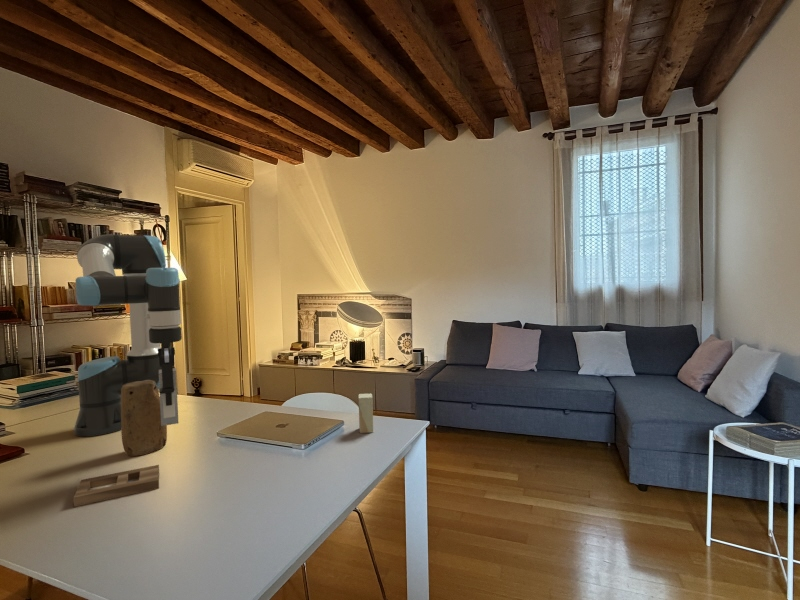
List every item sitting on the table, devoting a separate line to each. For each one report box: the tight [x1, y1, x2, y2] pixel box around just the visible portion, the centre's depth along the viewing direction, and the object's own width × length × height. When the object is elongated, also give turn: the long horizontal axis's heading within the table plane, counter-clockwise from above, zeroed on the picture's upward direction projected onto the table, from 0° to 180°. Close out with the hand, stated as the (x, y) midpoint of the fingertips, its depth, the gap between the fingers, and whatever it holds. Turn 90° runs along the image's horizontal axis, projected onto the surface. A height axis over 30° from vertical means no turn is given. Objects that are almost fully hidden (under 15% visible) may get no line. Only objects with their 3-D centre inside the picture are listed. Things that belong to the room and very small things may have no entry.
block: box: [120, 380, 168, 457], centre depth 126 cm, size 11×8×20 cm
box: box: [358, 393, 374, 434], centre depth 137 cm, size 5×4×11 cm
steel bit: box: [158, 367, 179, 426], centre depth 116 cm, size 4×4×14 cm
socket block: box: [73, 464, 160, 508], centre depth 103 cm, size 10×16×2 cm, turn 118°
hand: (169, 414), depth 117 cm, fingers closed on steel bit, 4 cm apart
